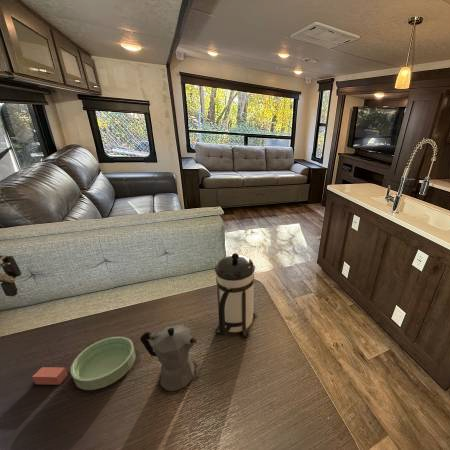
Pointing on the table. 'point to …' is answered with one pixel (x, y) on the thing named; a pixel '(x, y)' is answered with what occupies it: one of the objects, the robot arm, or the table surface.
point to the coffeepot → (172, 355)
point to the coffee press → (235, 293)
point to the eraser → (50, 375)
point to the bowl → (103, 363)
